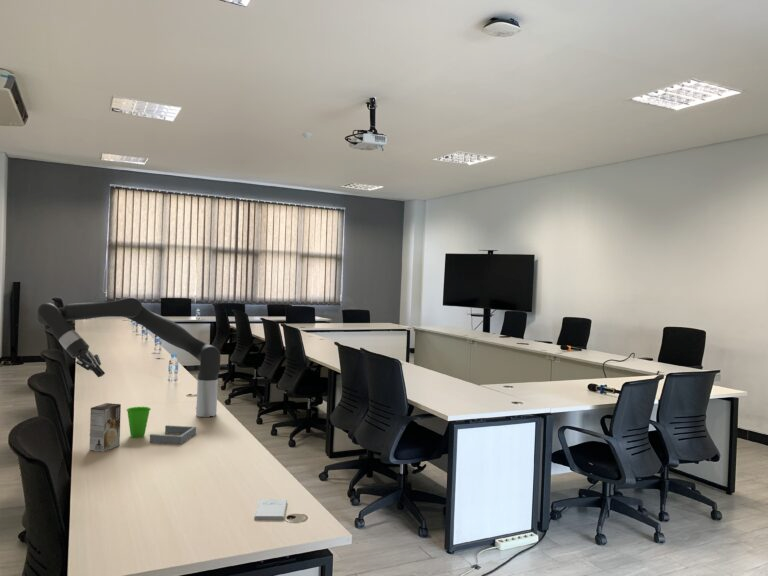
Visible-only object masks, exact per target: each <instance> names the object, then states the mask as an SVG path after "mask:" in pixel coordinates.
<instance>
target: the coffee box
mask: <svg viewBox="0 0 768 576" xmlns="http://www.w3.org/2000/svg"><path fill="white" fill-rule="evenodd" d="M121 409H122V406H121V403H111V402H110V403H109V402H108V403H107V402H106V403H103V404H100V405H96V406H93V407H90V418H89V419H90V421H89V423H90V424H89V449H88V450H89V451H90V450H94V451H93V452H99V451H101V452H100V453H105V452H107V451H109V449H110V450H112V449H114V448H117V447H119V446H120V442H121V441H120V439H121V438H120V437H121ZM104 451H105V452H104Z"/></svg>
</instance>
